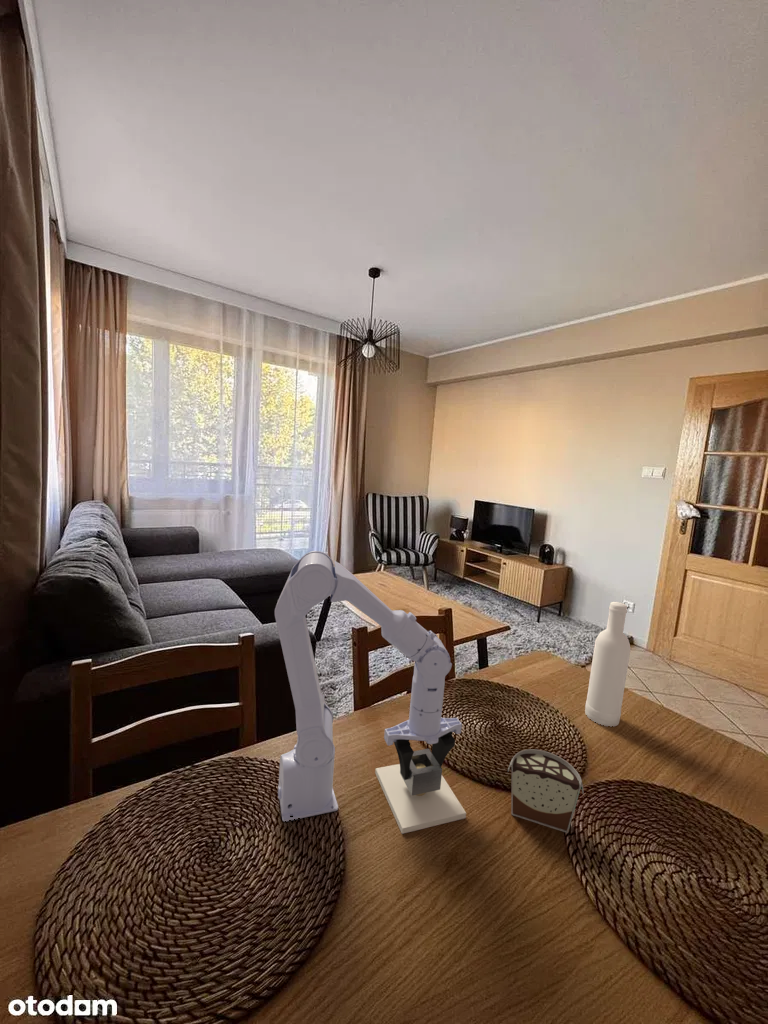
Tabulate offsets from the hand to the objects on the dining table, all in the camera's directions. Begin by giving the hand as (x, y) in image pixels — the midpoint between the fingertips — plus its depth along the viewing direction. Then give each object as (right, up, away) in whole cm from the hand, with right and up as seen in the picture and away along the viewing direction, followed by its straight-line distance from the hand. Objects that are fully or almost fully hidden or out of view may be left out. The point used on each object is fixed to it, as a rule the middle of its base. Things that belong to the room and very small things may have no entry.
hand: (419, 772), depth 78 cm
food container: (+21, -6, -1) cm, 22 cm away
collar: (0, -2, 0) cm, 2 cm away
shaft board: (0, -4, +1) cm, 4 cm away
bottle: (+49, -5, +30) cm, 57 cm away
